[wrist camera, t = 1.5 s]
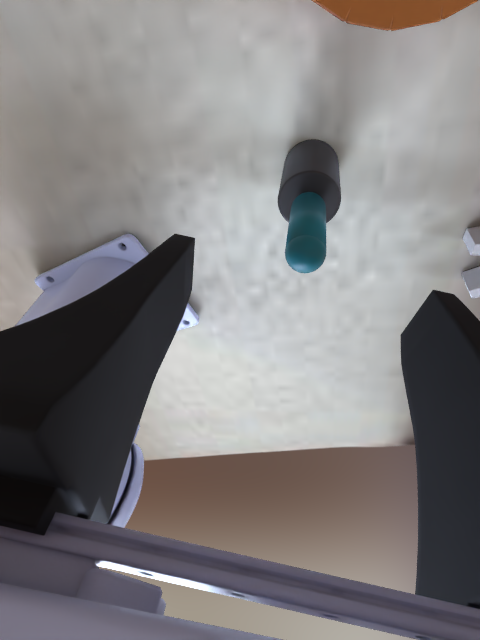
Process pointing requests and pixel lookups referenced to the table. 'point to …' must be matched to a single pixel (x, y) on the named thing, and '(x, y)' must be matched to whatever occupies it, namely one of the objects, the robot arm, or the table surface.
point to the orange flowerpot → (392, 11)
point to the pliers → (476, 278)
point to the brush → (309, 202)
